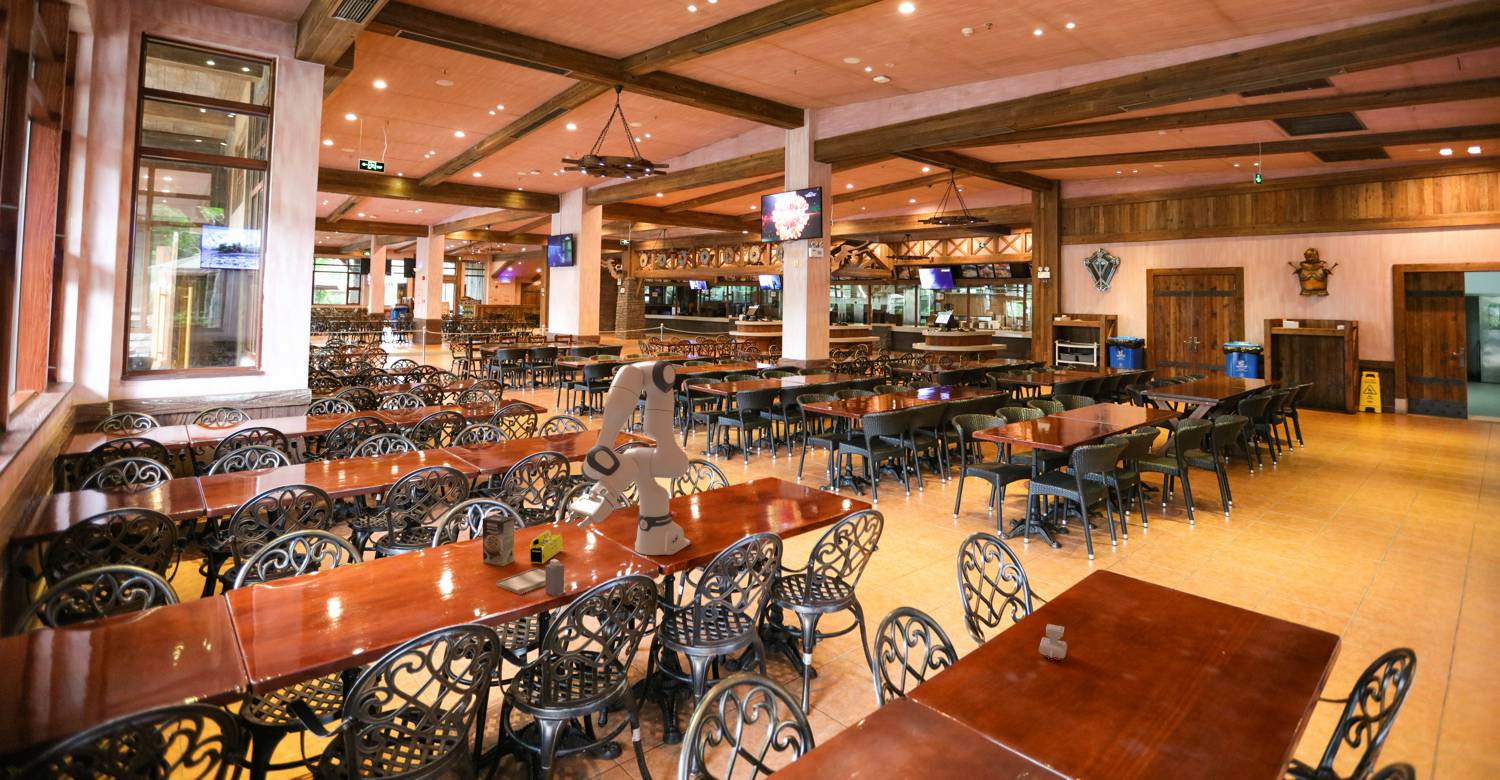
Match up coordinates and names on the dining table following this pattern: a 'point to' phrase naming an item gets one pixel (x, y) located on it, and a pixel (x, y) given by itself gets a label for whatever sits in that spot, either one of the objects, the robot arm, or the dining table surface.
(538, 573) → the board
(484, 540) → the coffee box
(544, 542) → the yellow toy chassis
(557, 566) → the grey bottle
